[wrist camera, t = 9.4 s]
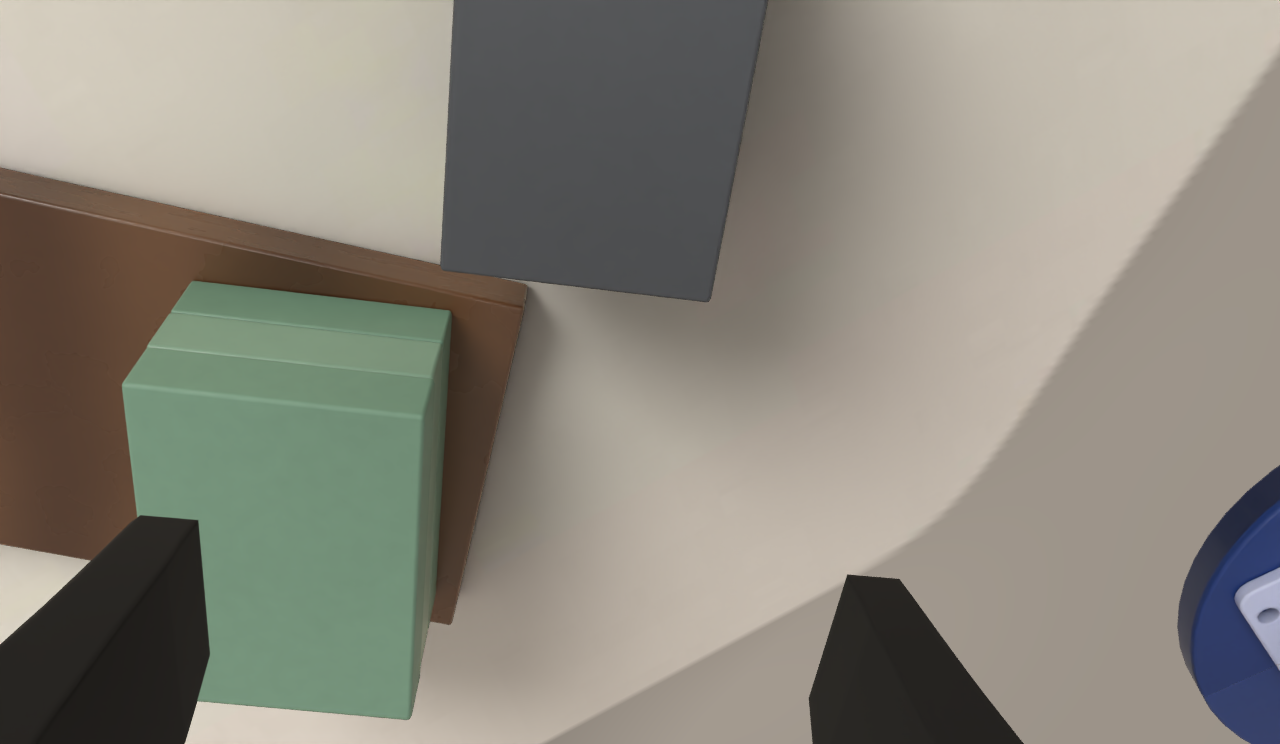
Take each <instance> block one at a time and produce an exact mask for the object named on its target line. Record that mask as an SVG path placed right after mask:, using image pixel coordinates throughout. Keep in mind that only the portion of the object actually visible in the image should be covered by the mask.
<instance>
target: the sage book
mask: <svg viewBox="0 0 1280 744" xmlns="http://www.w3.org/2000/svg"><path fill="white" fill-rule="evenodd" d="M122 392H123V400H124V409H125V417H126V426H127V434H128V443H129V451H130V459H131V468H132V476H133V485H134V493H135V502H136V510H137V517H139V516H140V515H145V516H157V517H169V518H181V519H193V520H198V522H199V533H200V544H201V556H202V567H203V579H204V590H205V601H206V613H207V624H208V636H209V647H210V657H209V660H208V664H207V668H206V671H205V675H204V679H203V682H202V686H201V689H200V693H199V697H198V700H197V701H201V702H213V703H224V704H235V705H246V706H257V707H268V708H280V709H291V710H302V711H313V712H324V713H336V714H347V715H358V716H369V717H380V718H391V719H403V720H408V719H410V717H411V716H412V712H413V707H414V702H415V697H416V692H417V687H418V683H419V678H420V665H421V646H422V626H423V607H424V587H425V568H426V548H427V529H428V510H429V490H430V471H431V451H432V432H433V412H434V393H435V383H434V380H433V379H430V378H421V377H412V376H403V375H394V374H385V373H376V372H367V371H358V370H349V369H340V368H331V367H322V366H314V365H305V364H296V363H287V362H278V361H269V360H260V359H251V358H242V357H233V356H224V355H215V354H206V353H197V352H188V351H179V350H171V349H162V348H153V347H150V348H147V349H146V350H145V351H144V353H143V354H142V356H141V357H140V358H139V360H138V361H137V363H136V364H135V366H134V367H133V369H132V370H131V371H130V373H129V374H128V376H127V377H126V379H125V380H124V381H123V383H122Z"/></svg>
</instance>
